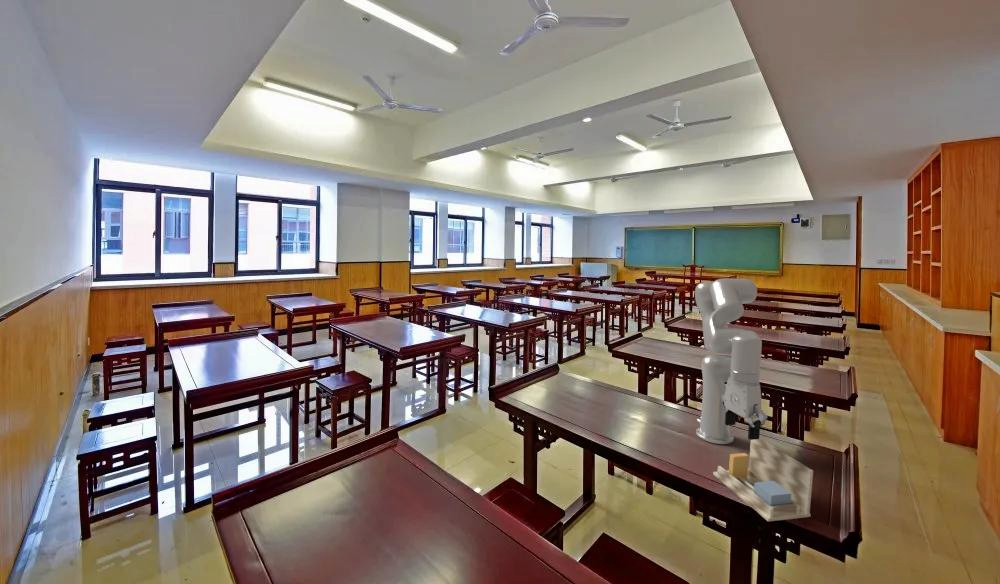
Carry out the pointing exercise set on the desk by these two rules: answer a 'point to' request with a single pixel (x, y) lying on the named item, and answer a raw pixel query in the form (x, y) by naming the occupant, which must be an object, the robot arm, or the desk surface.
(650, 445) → the desk surface
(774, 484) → the toy blocks
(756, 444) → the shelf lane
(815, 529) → the desk surface
